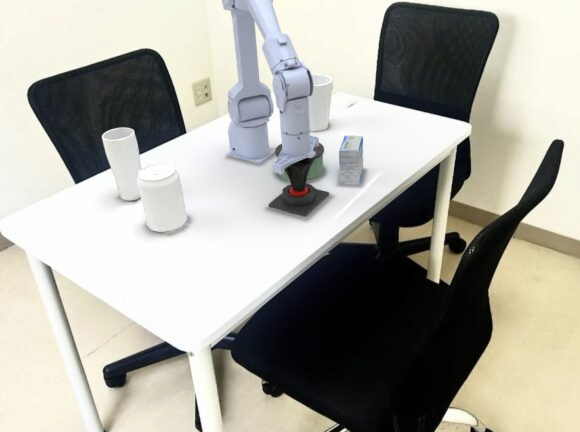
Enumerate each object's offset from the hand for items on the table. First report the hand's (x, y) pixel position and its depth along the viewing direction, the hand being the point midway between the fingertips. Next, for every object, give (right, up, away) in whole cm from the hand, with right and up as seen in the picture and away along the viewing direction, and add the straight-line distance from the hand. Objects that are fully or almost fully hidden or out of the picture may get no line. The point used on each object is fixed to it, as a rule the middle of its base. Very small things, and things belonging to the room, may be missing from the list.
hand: (298, 189), depth 117 cm
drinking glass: (-37, -1, +8) cm, 38 cm away
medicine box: (+12, +3, +10) cm, 16 cm away
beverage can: (-27, -7, -3) cm, 28 cm away
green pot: (0, +5, +13) cm, 14 cm away
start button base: (0, -3, +2) cm, 3 cm away
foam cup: (+5, +19, +36) cm, 41 cm away
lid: (0, +9, +11) cm, 14 cm away
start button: (0, -1, +1) cm, 2 cm away
